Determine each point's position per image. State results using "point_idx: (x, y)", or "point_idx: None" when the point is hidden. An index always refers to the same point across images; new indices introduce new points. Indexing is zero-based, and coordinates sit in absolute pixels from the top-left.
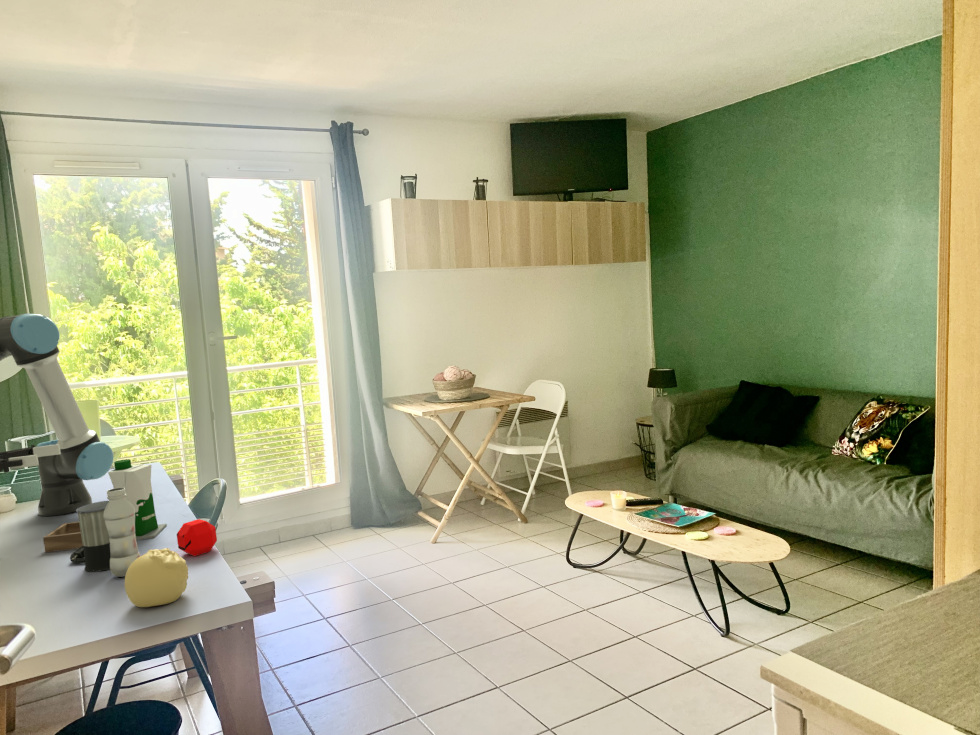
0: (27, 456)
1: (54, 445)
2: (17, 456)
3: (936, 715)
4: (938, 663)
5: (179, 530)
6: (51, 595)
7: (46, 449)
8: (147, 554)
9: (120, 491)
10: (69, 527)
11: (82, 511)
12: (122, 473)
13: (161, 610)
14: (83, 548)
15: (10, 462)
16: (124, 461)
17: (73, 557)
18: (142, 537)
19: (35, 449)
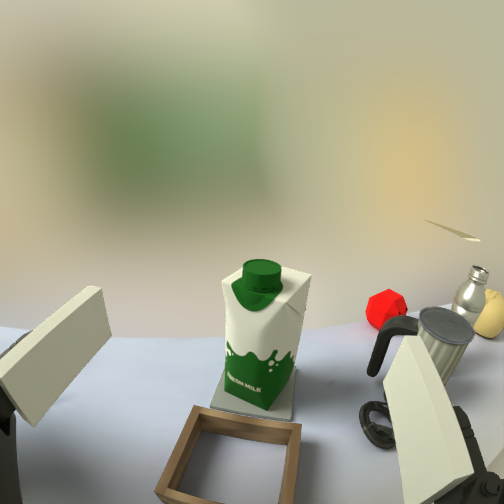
0: (434, 370)
1: (89, 299)
2: (7, 500)
3: (476, 238)
4: (459, 232)
5: (397, 309)
6: (489, 410)
7: (63, 343)
8: (499, 296)
9: (480, 268)
10: (170, 487)
11: (472, 332)
12: (304, 288)
13: None
14: None
15: (475, 457)
16: (268, 265)
17: (392, 440)
18: (294, 379)
19: (18, 378)
